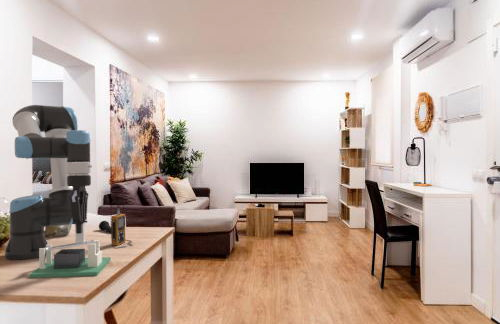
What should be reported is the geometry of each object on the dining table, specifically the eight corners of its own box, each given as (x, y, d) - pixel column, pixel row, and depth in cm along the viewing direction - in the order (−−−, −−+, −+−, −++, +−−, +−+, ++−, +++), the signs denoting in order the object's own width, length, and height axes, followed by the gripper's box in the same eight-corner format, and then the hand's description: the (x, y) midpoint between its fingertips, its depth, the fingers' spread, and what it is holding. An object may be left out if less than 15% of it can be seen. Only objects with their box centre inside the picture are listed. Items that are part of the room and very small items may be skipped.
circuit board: (29, 277, 122) (29, 250, 122) (51, 262, 140) (51, 238, 140) (97, 275, 125) (97, 248, 124) (110, 260, 142) (110, 236, 142)
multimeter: (128, 249, 160) (128, 202, 159) (106, 248, 161) (106, 201, 161) (144, 241, 174) (144, 198, 174) (124, 240, 176) (123, 197, 175)
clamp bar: (41, 255, 129) (40, 249, 129) (46, 252, 133) (45, 246, 133) (92, 246, 131) (91, 240, 131) (95, 243, 135) (94, 238, 135)
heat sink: (53, 269, 128) (53, 254, 127) (62, 262, 136) (62, 249, 135) (78, 268, 129) (78, 254, 129) (85, 261, 137) (85, 248, 136)
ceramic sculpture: (74, 218, 184) (39, 223, 174) (75, 235, 184) (41, 242, 175) (68, 215, 192) (35, 220, 183) (69, 232, 193) (36, 238, 183)
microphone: (119, 240, 189) (104, 230, 203) (123, 229, 190) (108, 220, 203) (110, 238, 186) (95, 228, 199) (114, 228, 186) (99, 218, 200)
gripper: (84, 175, 126) (85, 245, 126) (95, 173, 139) (96, 237, 139) (60, 175, 125) (62, 246, 125) (73, 174, 138) (75, 238, 138)
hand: (80, 242), depth 132 cm, fingers closed
